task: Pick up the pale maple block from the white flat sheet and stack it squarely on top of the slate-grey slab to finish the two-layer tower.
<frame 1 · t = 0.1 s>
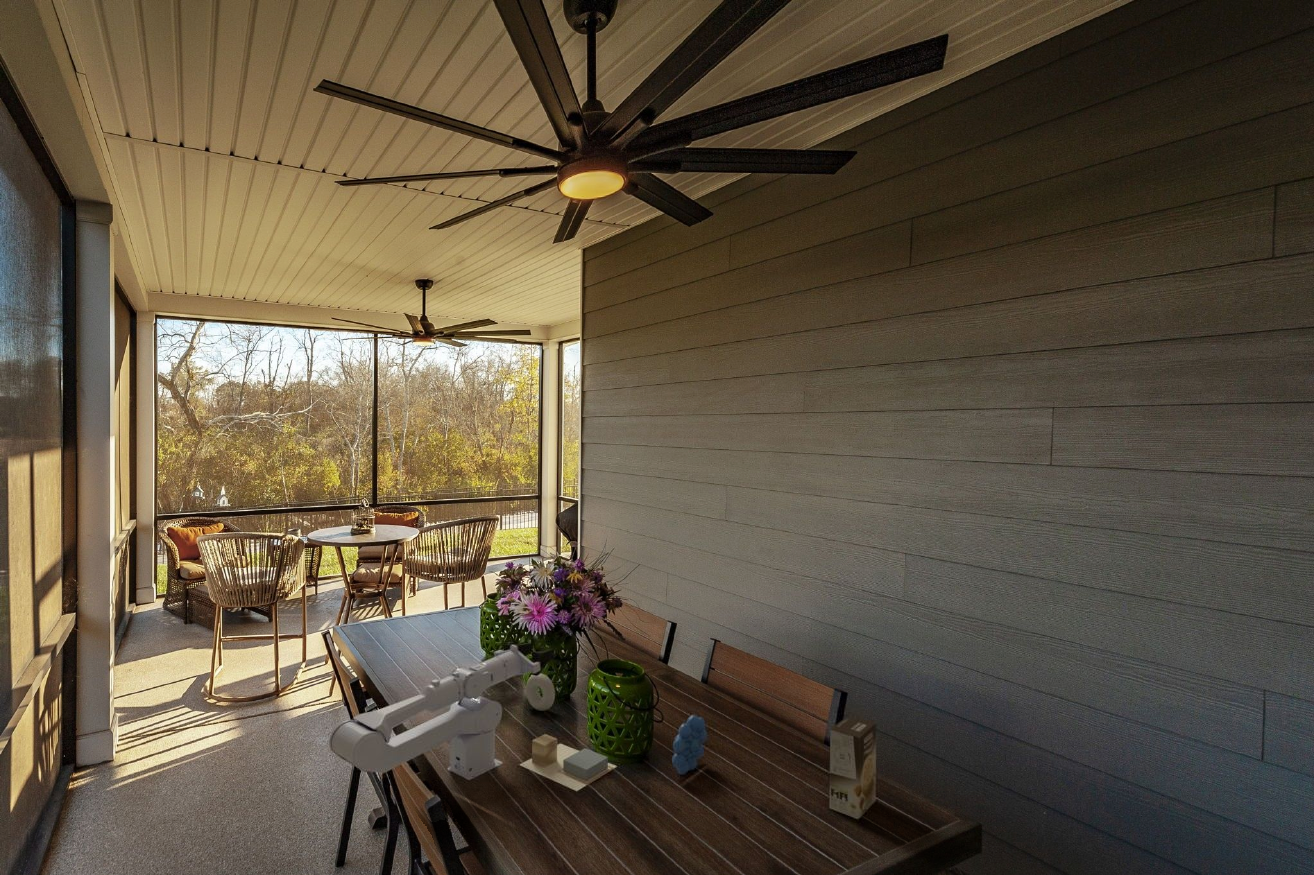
hand: (542, 650, 159), 22 cm above the table, tool horizontal, fingers open, 7 cm apart
donut: (540, 710, 175), on the table
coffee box: (852, 805, 130), on the table
maple block: (544, 761, 145), point 1 cm above the table, touching white flat sheet
white flat sheet: (567, 768, 143), on the table
slate slab: (585, 770, 142), point 1 cm above the table, touching white flat sheet
grapes: (686, 770, 143), on the table
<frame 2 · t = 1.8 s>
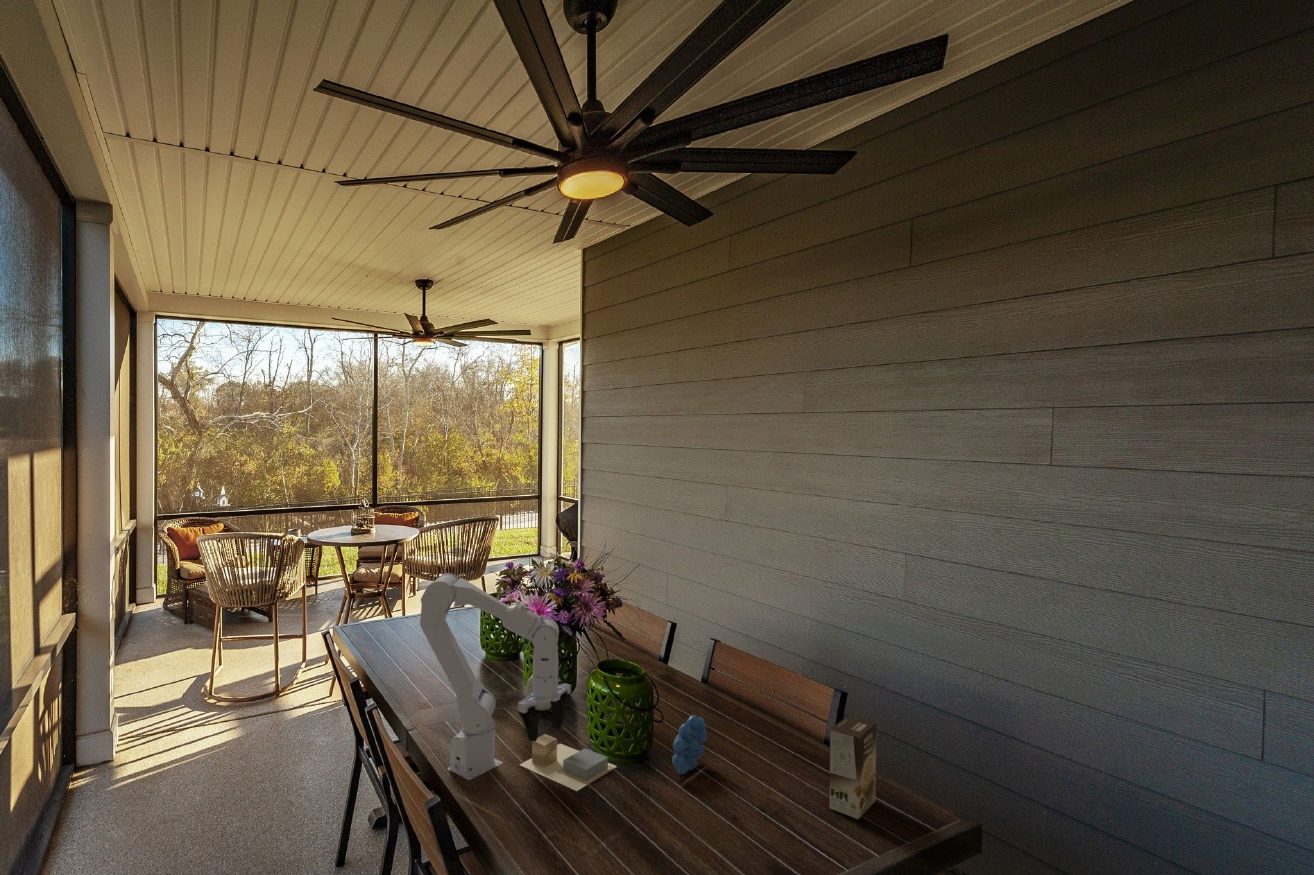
hand: (545, 733, 145), 7 cm above the table, tool pointing down, fingers open, 7 cm apart
nothing on the table moved.
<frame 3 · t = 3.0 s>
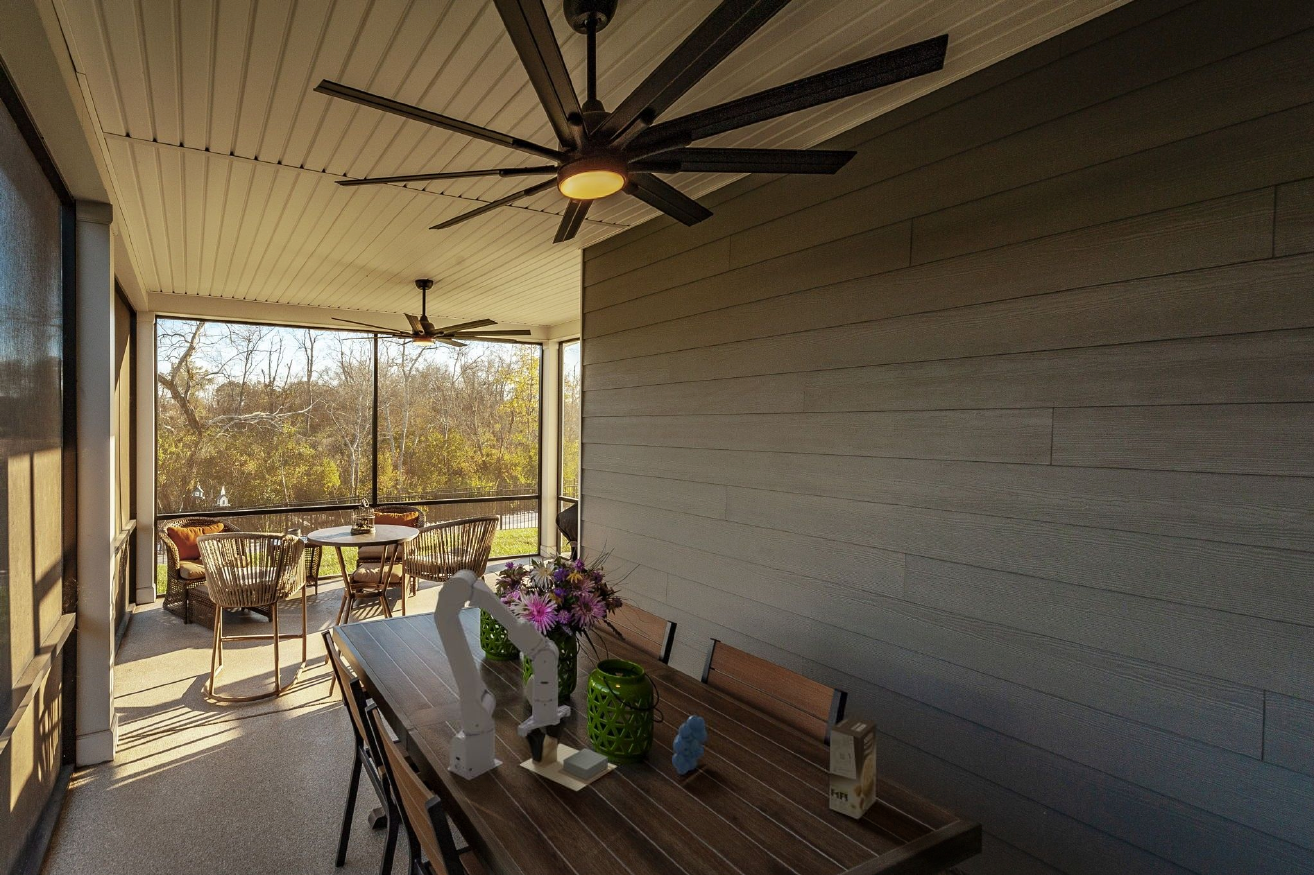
hand: (544, 756, 145), 2 cm above the table, tool pointing down, fingers closed on maple block, 4 cm apart
maple block: (544, 761, 145), point 1 cm above the table, touching white flat sheet, gripper
everything else where it was.
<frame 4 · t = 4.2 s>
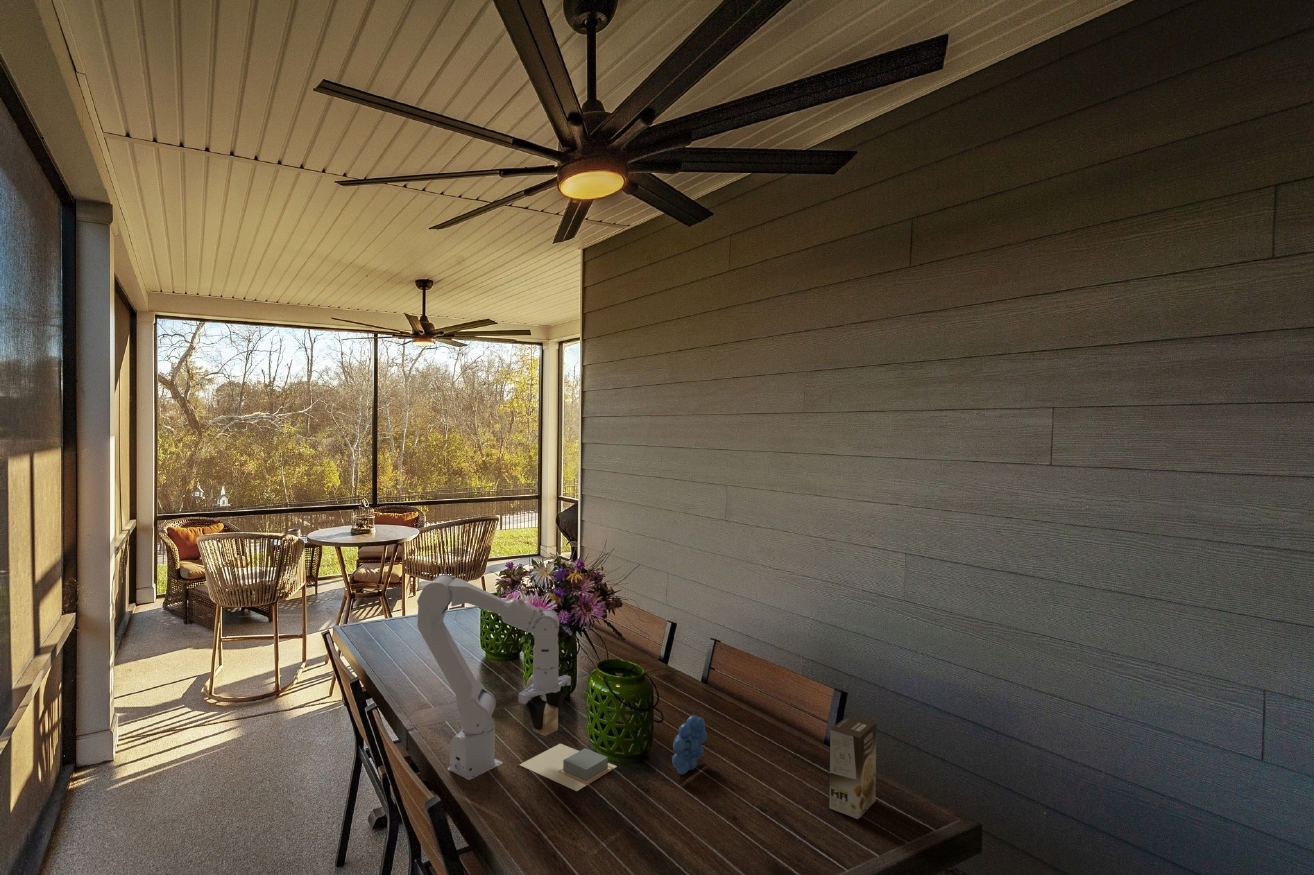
hand: (545, 725, 145), 9 cm above the table, tool pointing down, fingers closed on maple block, 4 cm apart
maple block: (545, 730, 145), point 8 cm above the table, touching gripper
everything else where it was.
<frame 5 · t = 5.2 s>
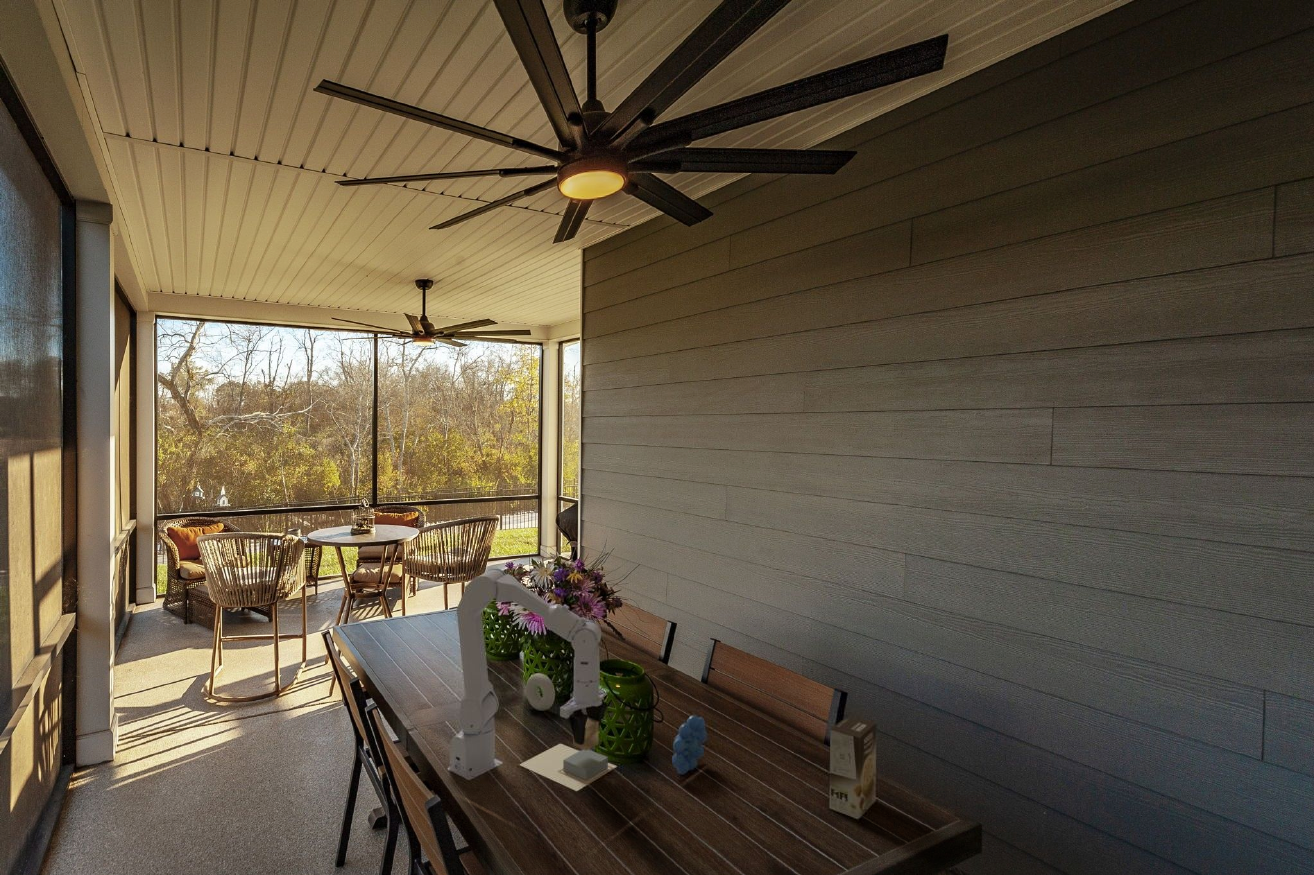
hand: (586, 739, 142), 7 cm above the table, tool pointing down, fingers closed on maple block, 4 cm apart
maple block: (585, 744, 142), point 6 cm above the table, touching gripper
everything else where it was.
when the fingers open (5 cm above the table, at t = 5.9 s): maple block stays where it is, resting on slate slab.
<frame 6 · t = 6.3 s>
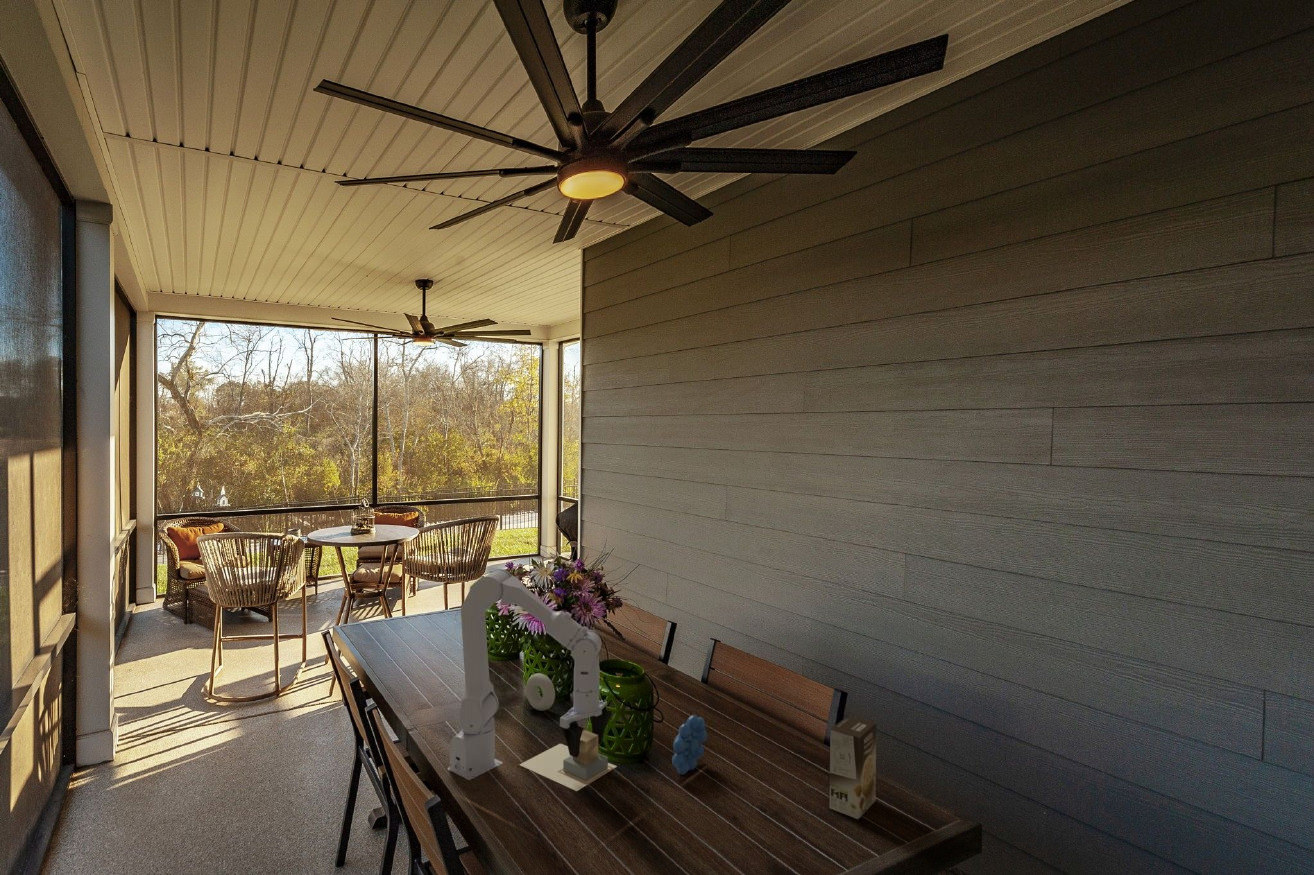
hand: (585, 749, 142), 5 cm above the table, tool pointing down, fingers open, 7 cm apart
maple block: (585, 758, 142), point 3 cm above the table, touching slate slab
slate slab: (585, 770, 142), point 1 cm above the table, touching white flat sheet, maple block
everything else where it was.
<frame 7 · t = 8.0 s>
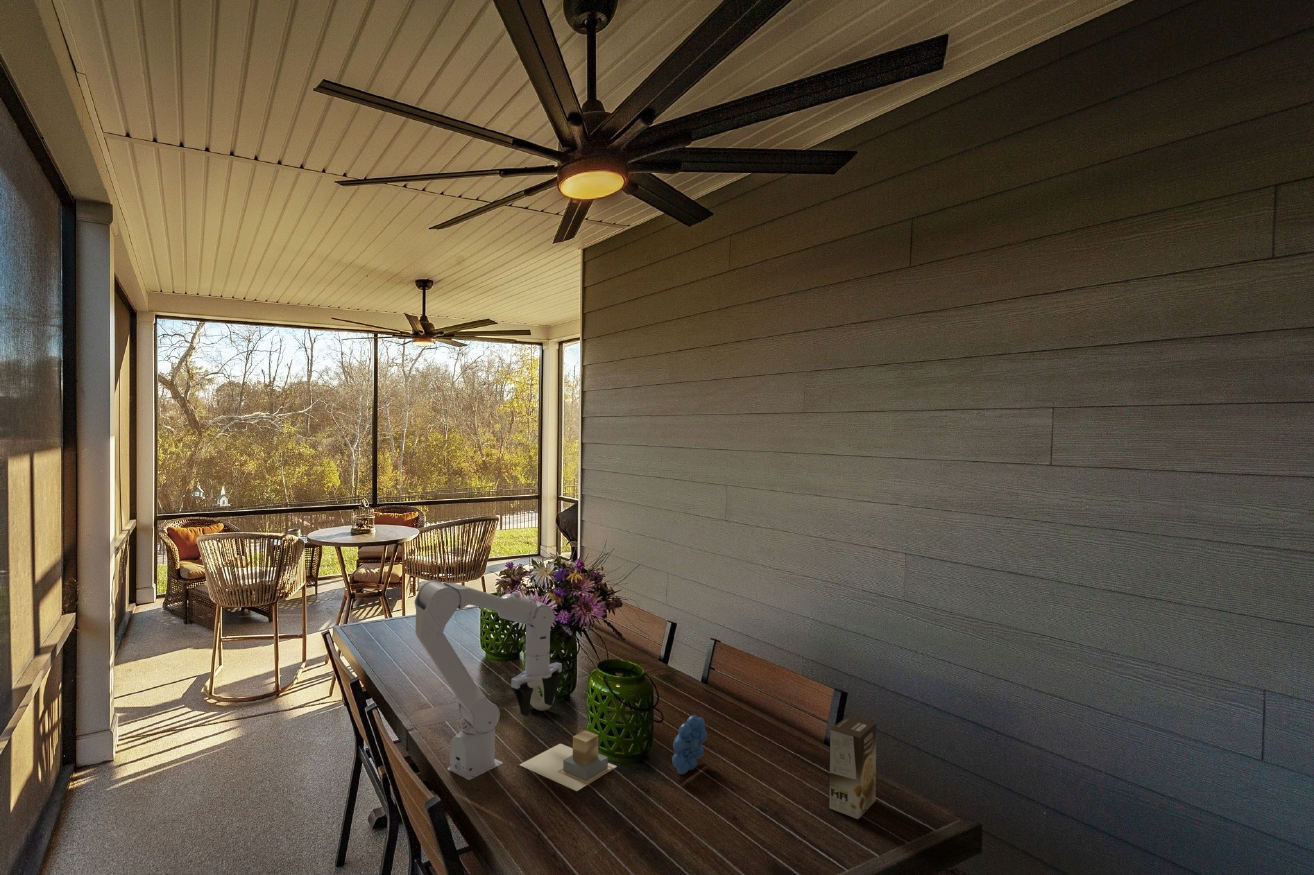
hand: (537, 709, 153), 9 cm above the table, tool pointing down, fingers open, 7 cm apart
nothing on the table moved.
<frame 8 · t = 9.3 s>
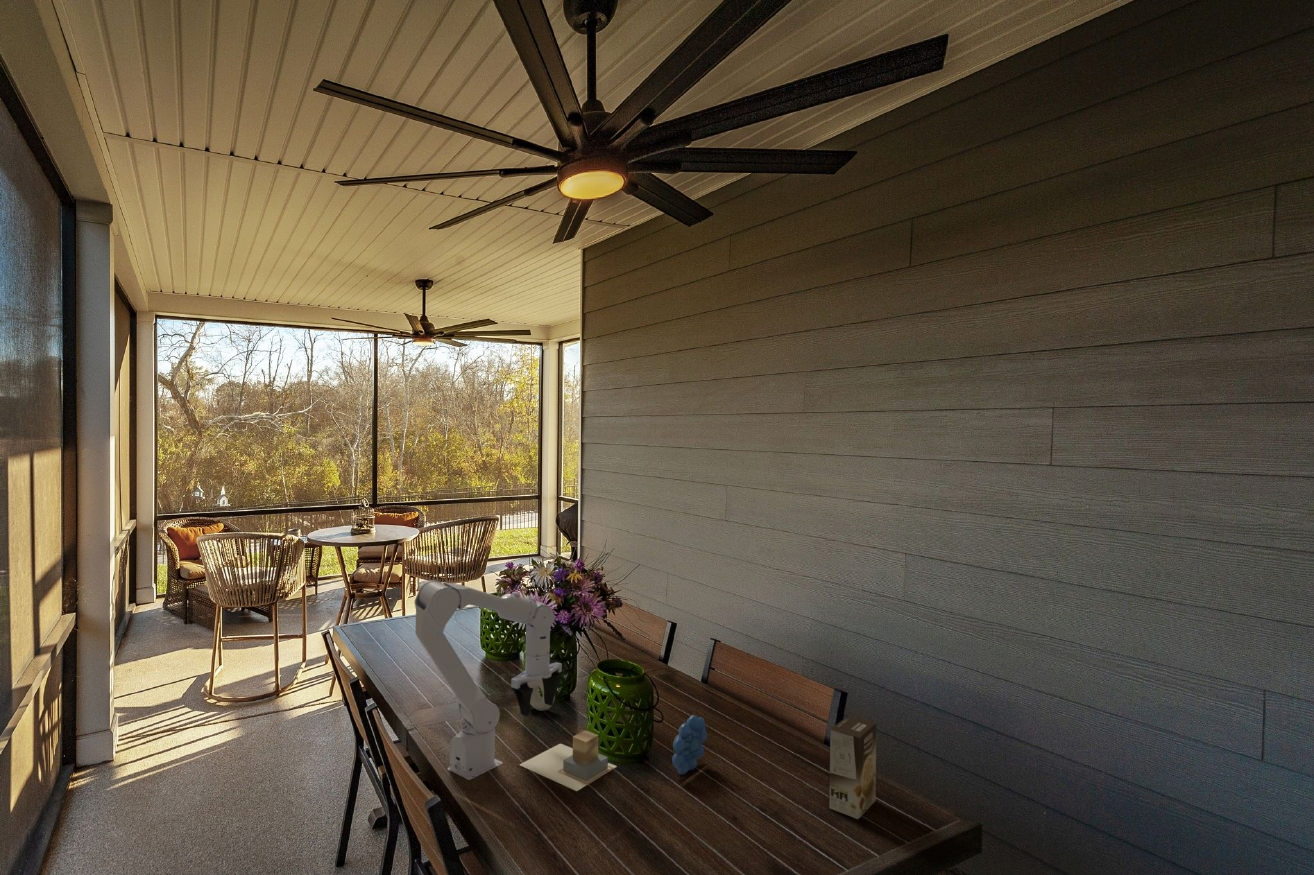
hand: (537, 709, 153), 9 cm above the table, tool pointing down, fingers open, 7 cm apart
nothing on the table moved.
at the end: maple block 0.1 cm off-centre on the slate slab, point 2.5 cm above the slate slab's base; maple block tilted 0°; slate slab moved 0.0 cm from its start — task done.
